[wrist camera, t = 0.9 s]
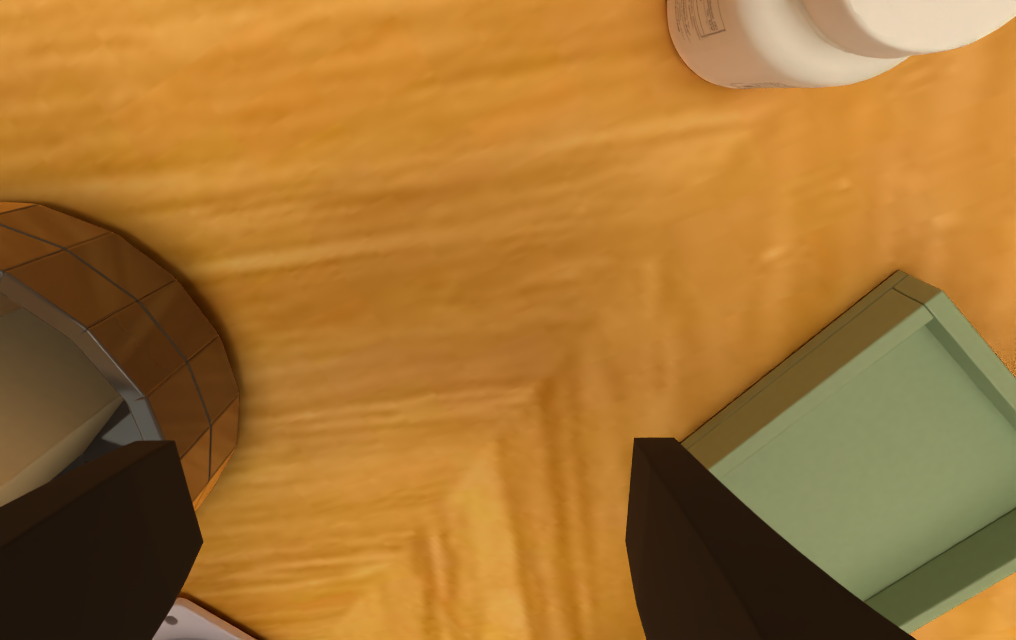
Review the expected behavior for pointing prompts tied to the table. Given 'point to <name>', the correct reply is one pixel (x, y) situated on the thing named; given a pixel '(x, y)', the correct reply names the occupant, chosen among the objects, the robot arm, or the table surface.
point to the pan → (126, 336)
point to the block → (45, 403)
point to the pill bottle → (821, 37)
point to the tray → (883, 453)
